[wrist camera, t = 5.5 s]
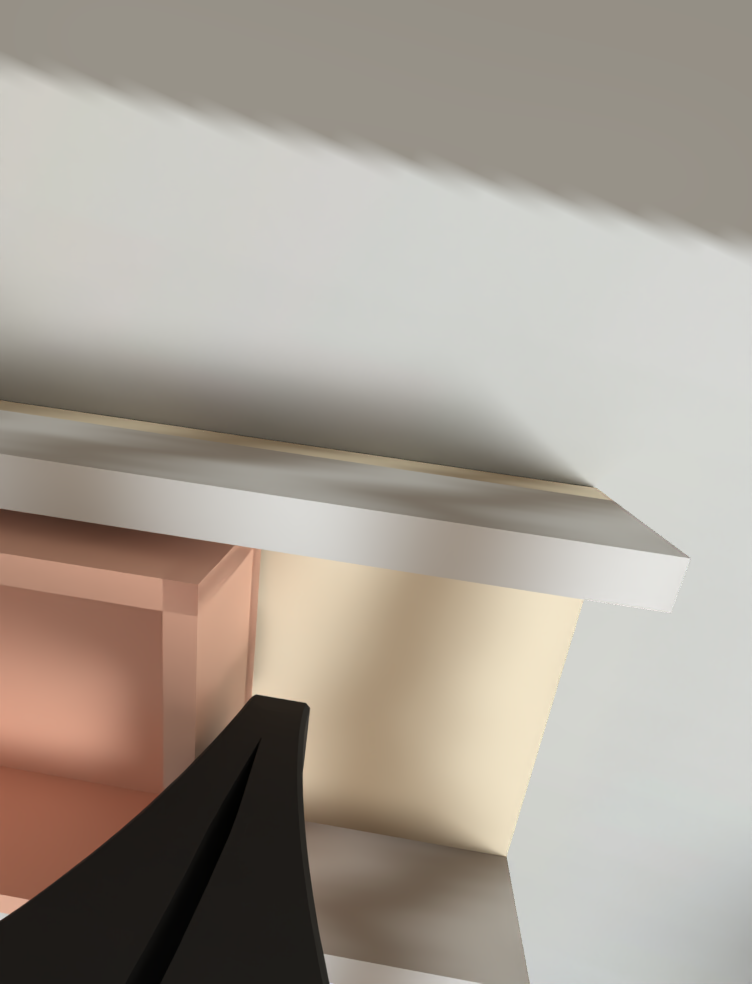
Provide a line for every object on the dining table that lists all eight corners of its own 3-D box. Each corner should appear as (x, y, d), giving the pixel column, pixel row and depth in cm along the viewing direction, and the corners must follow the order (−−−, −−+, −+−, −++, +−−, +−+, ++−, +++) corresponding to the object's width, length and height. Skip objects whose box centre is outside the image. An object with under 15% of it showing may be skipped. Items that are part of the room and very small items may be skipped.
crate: (263, 514, 11) (198, 584, 8) (244, 804, 13) (191, 947, 10) (-145, 452, 11) (-377, 493, 8) (-85, 746, 14) (-238, 867, 11)
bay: (596, 488, 11) (690, 558, 7) (493, 846, 15) (521, 1019, 11) (-188, 372, 12) (-471, 382, 8) (-105, 740, 15) (-275, 868, 12)
